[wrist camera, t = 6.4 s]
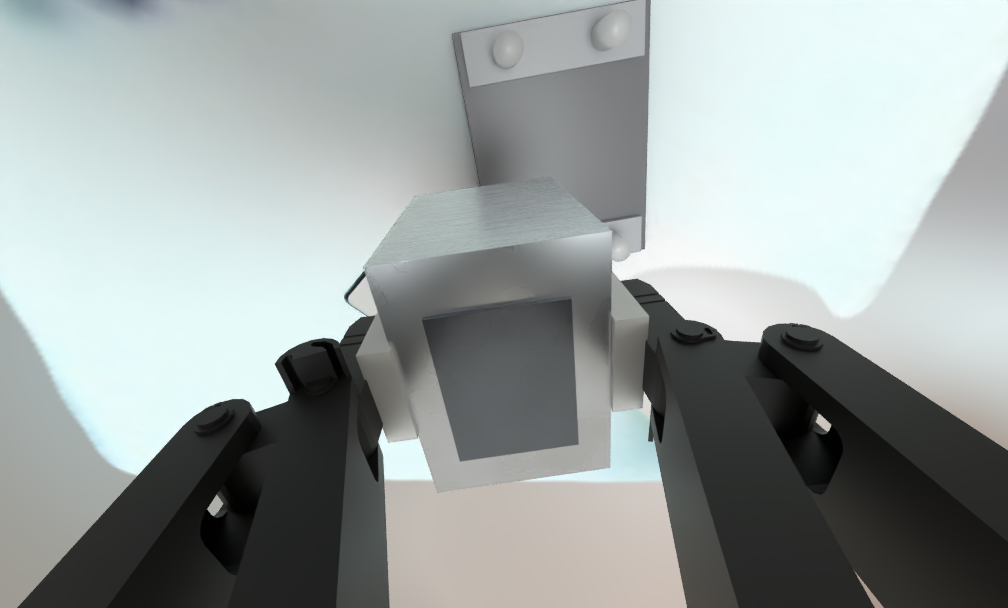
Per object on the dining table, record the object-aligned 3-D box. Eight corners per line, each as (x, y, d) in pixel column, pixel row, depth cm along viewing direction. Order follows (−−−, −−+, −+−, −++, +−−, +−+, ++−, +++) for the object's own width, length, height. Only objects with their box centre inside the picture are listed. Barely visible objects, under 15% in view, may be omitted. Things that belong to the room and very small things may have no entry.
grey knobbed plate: (452, 36, 23) (448, 24, 20) (645, 0, 23) (674, -18, 19) (496, 271, 31) (498, 291, 27) (640, 245, 30) (661, 263, 27)
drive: (414, 196, 14) (360, 269, 7) (550, 176, 14) (614, 233, 7) (451, 352, 17) (436, 497, 11) (561, 336, 17) (611, 472, 10)
